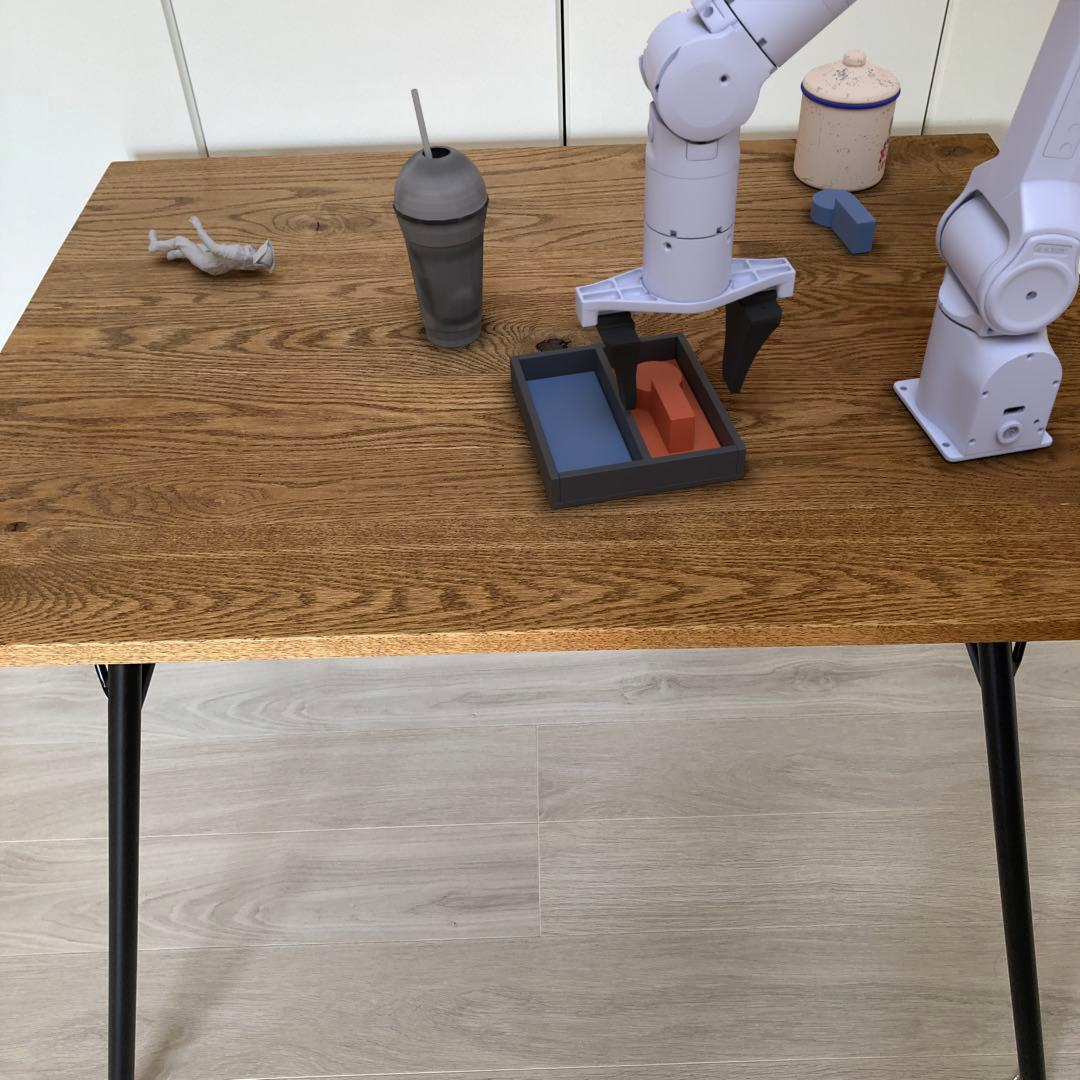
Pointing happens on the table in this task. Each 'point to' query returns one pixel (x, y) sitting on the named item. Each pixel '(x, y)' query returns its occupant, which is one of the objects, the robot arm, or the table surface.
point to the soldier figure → (214, 252)
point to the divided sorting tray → (618, 425)
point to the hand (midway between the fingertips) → (679, 393)
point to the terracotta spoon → (666, 404)
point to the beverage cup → (444, 237)
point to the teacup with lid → (845, 124)
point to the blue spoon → (844, 218)
